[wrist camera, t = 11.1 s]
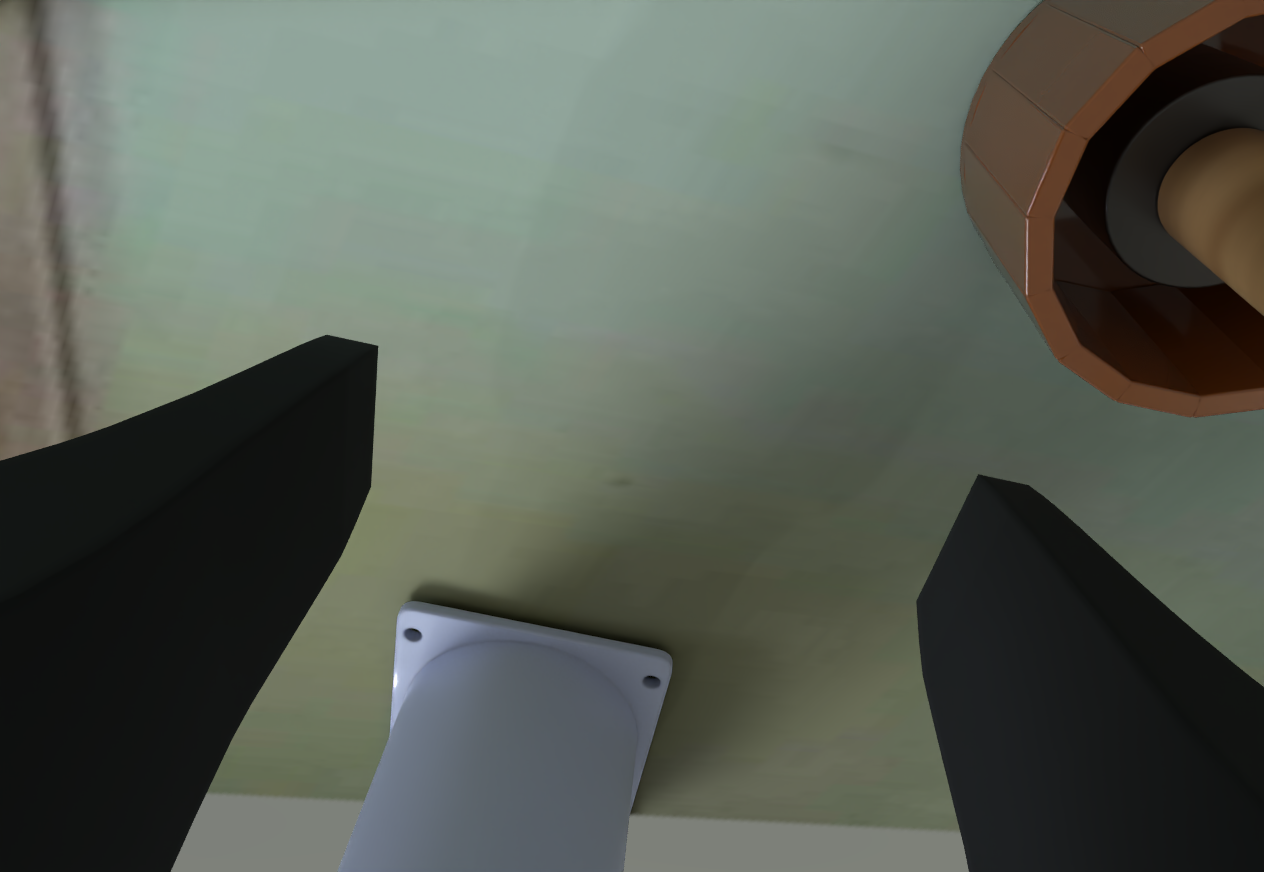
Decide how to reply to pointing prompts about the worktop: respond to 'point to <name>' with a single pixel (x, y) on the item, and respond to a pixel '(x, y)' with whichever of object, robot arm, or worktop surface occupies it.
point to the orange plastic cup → (1063, 244)
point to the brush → (1183, 176)
